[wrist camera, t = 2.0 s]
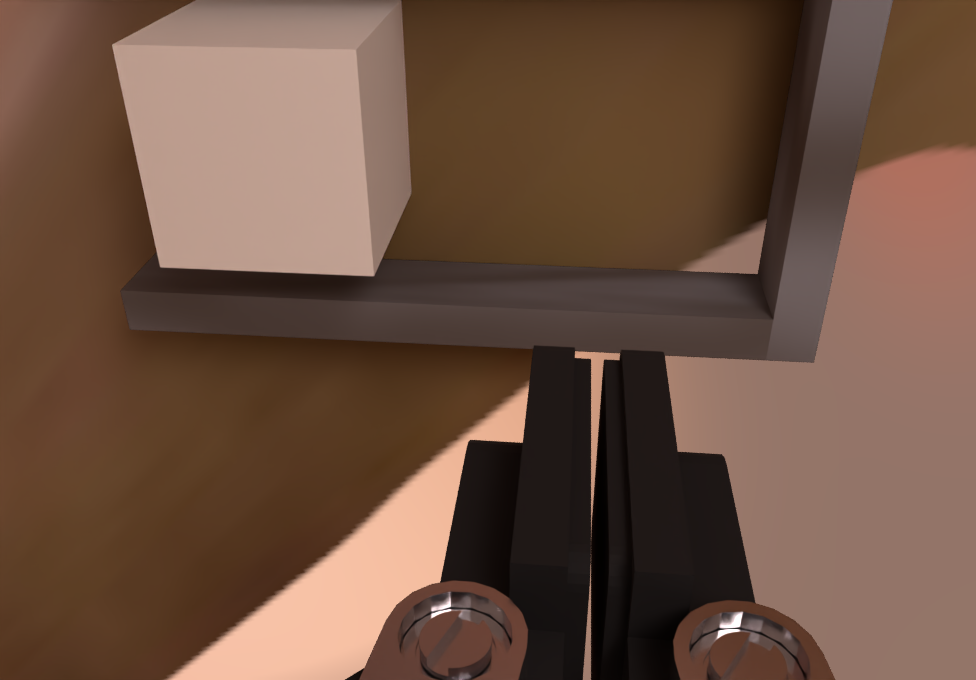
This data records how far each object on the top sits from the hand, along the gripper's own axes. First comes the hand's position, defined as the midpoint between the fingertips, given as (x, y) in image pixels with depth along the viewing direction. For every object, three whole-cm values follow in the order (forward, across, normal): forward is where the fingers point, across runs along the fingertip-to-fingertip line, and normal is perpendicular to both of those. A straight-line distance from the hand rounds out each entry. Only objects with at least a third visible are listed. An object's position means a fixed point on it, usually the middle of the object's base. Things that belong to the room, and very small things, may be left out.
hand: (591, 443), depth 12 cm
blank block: (+13, +7, -1) cm, 15 cm away
